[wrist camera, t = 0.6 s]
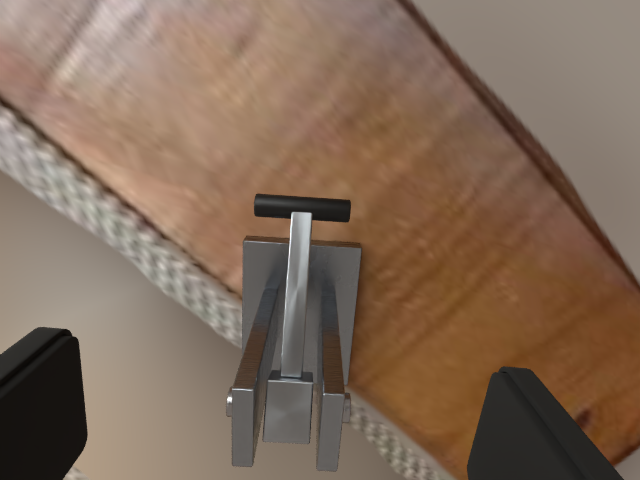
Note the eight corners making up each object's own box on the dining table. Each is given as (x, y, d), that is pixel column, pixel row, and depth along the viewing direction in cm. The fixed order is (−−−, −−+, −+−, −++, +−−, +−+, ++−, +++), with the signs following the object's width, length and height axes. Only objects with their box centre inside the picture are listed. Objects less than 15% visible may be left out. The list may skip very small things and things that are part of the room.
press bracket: (245, 235, 27) (194, 319, 16) (360, 242, 27) (388, 331, 16) (244, 369, 31) (201, 517, 19) (346, 375, 31) (362, 524, 20)
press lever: (259, 199, 22) (253, 188, 20) (347, 204, 22) (352, 194, 20) (240, 423, 20) (231, 440, 18) (336, 428, 21) (339, 446, 18)
